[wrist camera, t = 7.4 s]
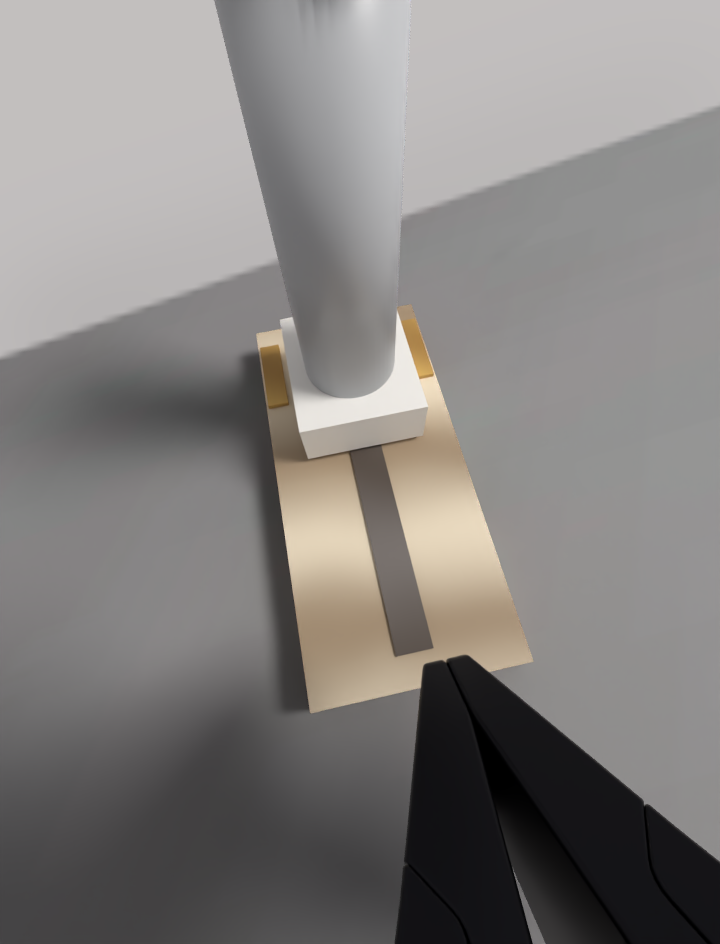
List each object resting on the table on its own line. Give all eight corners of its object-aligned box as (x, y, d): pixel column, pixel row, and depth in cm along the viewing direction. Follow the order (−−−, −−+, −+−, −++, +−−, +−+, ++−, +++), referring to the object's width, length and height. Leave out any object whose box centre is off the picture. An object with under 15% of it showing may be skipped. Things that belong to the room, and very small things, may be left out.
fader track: (519, 662, 15) (535, 661, 13) (316, 709, 15) (309, 713, 13) (408, 327, 21) (411, 300, 20) (264, 355, 21) (255, 330, 19)
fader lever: (422, 435, 17) (629, -708, 3) (308, 459, 16) (-69, -651, 3) (391, 334, 19) (424, -617, 5) (289, 354, 19) (22, -581, 5)
